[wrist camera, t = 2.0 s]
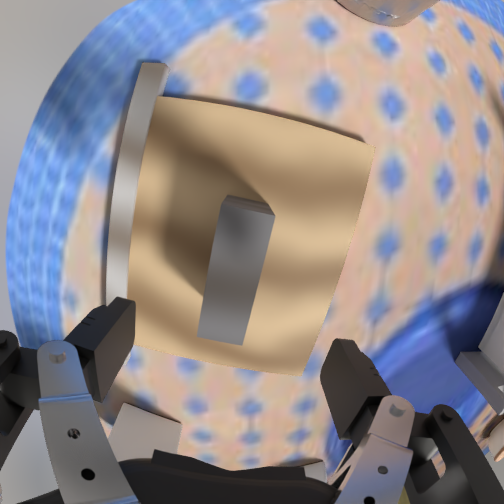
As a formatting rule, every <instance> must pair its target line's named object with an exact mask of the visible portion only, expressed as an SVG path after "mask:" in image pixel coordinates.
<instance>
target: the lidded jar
mask: <svg viewBox="0 0 504 504" xmlns="http://www.w3.org/2000/svg"><path fill="white" fill-rule="evenodd" d="M489 450H490V453H491V455H492V457H493V458H494V461H495V462H497V461H499V460H501V459H502V458H503V457H504V419H503V420H502V421H501V422H500V423H499V424H498V425H497V426H496V427H495V428H494V429H493V430H492V431H491V433H490V438H489Z"/></svg>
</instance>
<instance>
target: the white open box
mask: <svg viewBox="0 0 504 504" xmlns="http://www.w3.org/2000/svg"><path fill="white" fill-rule="evenodd" d="M478 348H479V349H480V350H481V351H483V352H460V354H459V356H458V357H457V359H456V361H455V363H456V365H457V366H458V367H459V368H460V369H461V370H462V371H463V373H464V374H465V375H466V376H467V377H468V378H469V380H470V381H471V382H472V383H473V384H474V386H475V387H476V388H477V389H478V390H479V392H480V393H481V394H482V395H483V396H484V398H485V399H486V400H487V401H488V403H489V404H490V405H491V406H492V408H493V409H494V410H495V411H496V413H497V414H498V415H501V414H503V413H504V293H503V295H502V298H501V300H500V303H499V305H498V307H497V309H496V312H495V314H494V316H493V318H492V320H491V323H490V325H489V327H488V329H487V331H486V333H485V335H484V337H483V339H482V341H481V342H480V344H479V346H478Z"/></svg>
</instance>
